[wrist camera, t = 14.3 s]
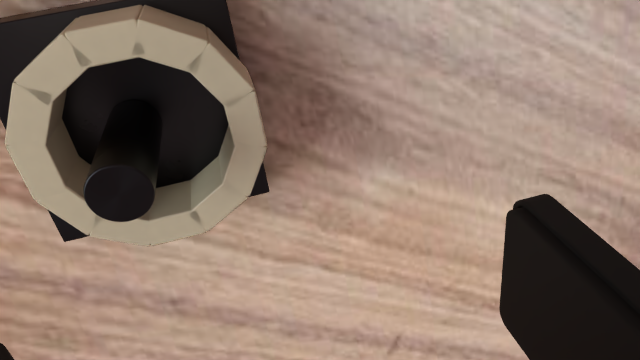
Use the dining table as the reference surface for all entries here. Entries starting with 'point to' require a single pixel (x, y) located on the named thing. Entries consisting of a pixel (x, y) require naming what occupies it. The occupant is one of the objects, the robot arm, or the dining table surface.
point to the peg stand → (128, 110)
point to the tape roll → (71, 170)
